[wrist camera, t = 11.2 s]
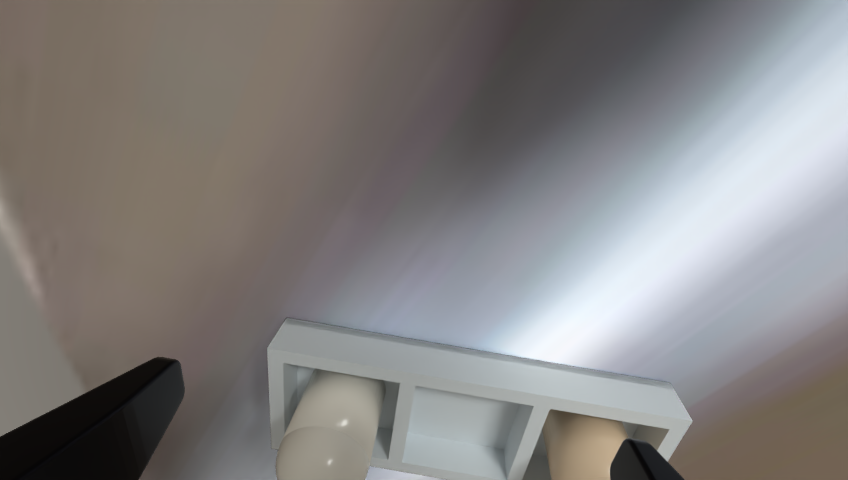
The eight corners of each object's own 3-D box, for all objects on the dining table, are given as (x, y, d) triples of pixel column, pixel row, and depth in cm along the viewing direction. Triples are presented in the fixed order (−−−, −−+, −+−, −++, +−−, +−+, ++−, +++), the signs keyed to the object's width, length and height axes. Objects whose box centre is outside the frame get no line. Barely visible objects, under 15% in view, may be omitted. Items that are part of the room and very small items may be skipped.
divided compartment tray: (670, 382, 22) (692, 421, 20) (620, 471, 26) (635, 512, 24) (286, 317, 23) (267, 348, 21) (287, 413, 26) (271, 448, 24)
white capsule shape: (389, 364, 23) (362, 482, 17) (382, 418, 25) (355, 542, 19) (311, 351, 23) (256, 463, 17) (310, 406, 25) (260, 525, 19)
